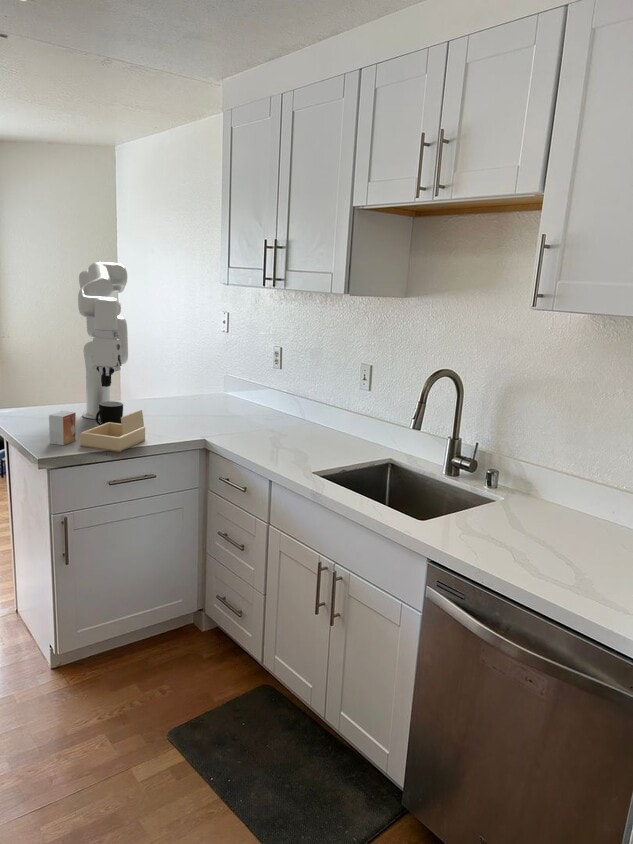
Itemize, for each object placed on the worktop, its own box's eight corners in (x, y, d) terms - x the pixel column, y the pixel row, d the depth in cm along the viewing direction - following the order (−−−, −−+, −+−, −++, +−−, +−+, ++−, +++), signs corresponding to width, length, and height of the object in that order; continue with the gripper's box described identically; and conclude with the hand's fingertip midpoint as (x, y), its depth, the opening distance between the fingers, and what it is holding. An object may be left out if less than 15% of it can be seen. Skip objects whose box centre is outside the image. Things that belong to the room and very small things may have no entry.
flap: (140, 409, 228) (142, 409, 228) (142, 426, 229) (144, 426, 229) (120, 417, 215) (121, 417, 215) (122, 434, 216) (124, 434, 216)
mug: (111, 424, 250) (111, 400, 248) (128, 428, 247) (128, 403, 244) (88, 430, 240) (87, 404, 238) (105, 434, 236) (104, 408, 234)
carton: (108, 434, 236) (108, 422, 235) (145, 440, 233) (145, 427, 231) (80, 446, 219) (80, 432, 217) (119, 452, 215) (119, 438, 214)
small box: (63, 445, 218) (62, 416, 216) (49, 443, 219) (48, 414, 217) (76, 440, 226) (76, 412, 223) (62, 438, 227) (62, 410, 224)
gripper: (130, 335, 219) (130, 386, 223) (93, 331, 222) (93, 382, 226) (119, 337, 212) (119, 390, 216) (80, 333, 215) (81, 385, 219)
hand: (106, 386), depth 221 cm, fingers closed
